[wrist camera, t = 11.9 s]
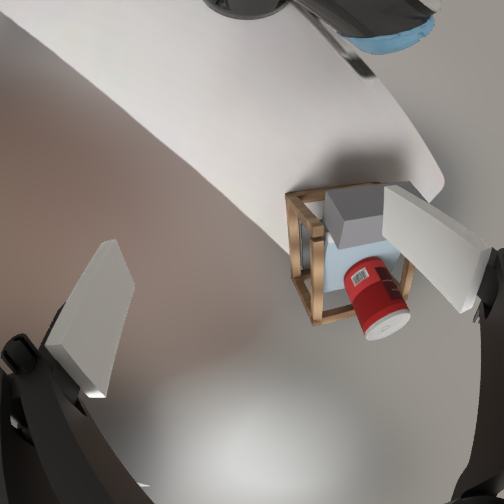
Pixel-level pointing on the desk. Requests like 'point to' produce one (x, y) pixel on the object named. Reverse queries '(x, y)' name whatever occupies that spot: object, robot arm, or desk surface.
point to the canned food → (375, 298)
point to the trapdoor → (356, 230)
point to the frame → (320, 256)
